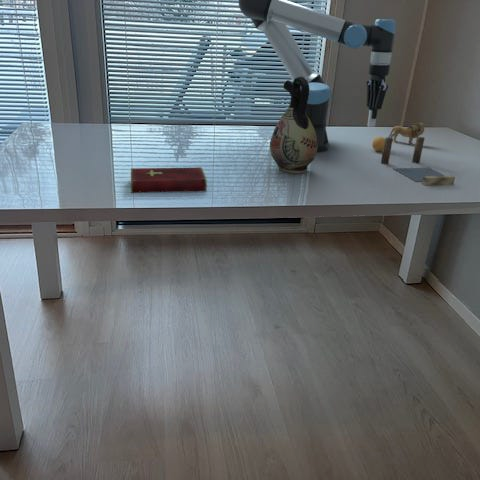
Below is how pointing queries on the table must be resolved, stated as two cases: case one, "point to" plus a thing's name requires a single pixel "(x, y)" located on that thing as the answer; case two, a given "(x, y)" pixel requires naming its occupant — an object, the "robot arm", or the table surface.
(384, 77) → the robot arm
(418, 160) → the right post
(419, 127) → the lion figurine
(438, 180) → the rail
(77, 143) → the table surface
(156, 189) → the hardcover book
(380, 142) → the ball
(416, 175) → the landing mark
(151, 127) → the table surface
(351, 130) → the table surface
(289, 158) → the ceramic jug
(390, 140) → the left post
